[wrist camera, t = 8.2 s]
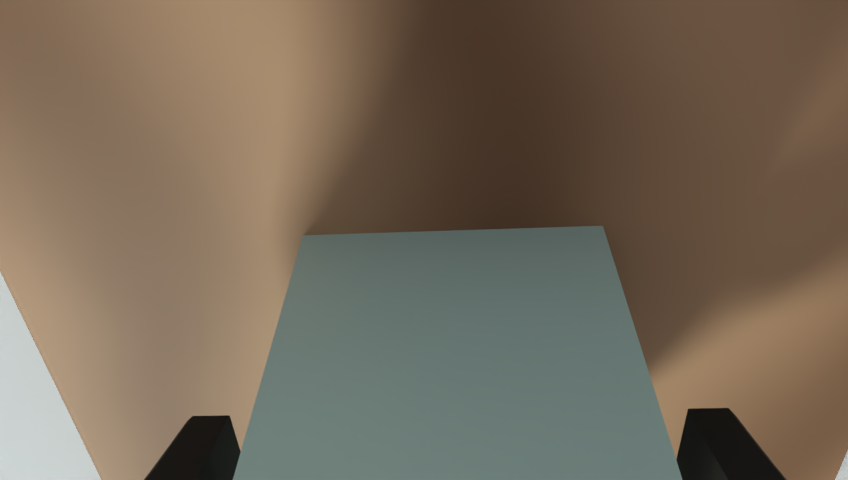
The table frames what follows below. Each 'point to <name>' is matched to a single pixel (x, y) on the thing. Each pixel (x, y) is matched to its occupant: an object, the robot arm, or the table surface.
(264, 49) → the stub board
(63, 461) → the table surface
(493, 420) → the mint green cube
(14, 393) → the table surface
